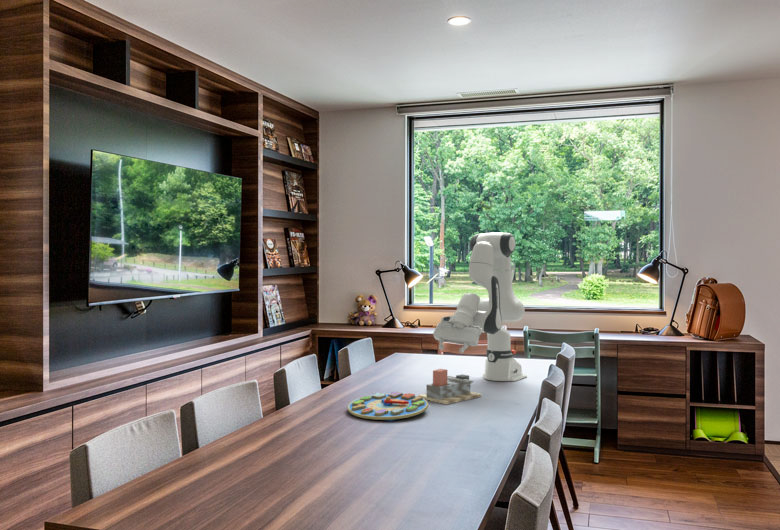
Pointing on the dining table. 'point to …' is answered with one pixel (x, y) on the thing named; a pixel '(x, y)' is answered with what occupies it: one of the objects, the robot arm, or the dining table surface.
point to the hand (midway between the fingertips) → (450, 350)
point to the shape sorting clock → (388, 406)
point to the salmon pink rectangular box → (440, 377)
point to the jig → (451, 390)
